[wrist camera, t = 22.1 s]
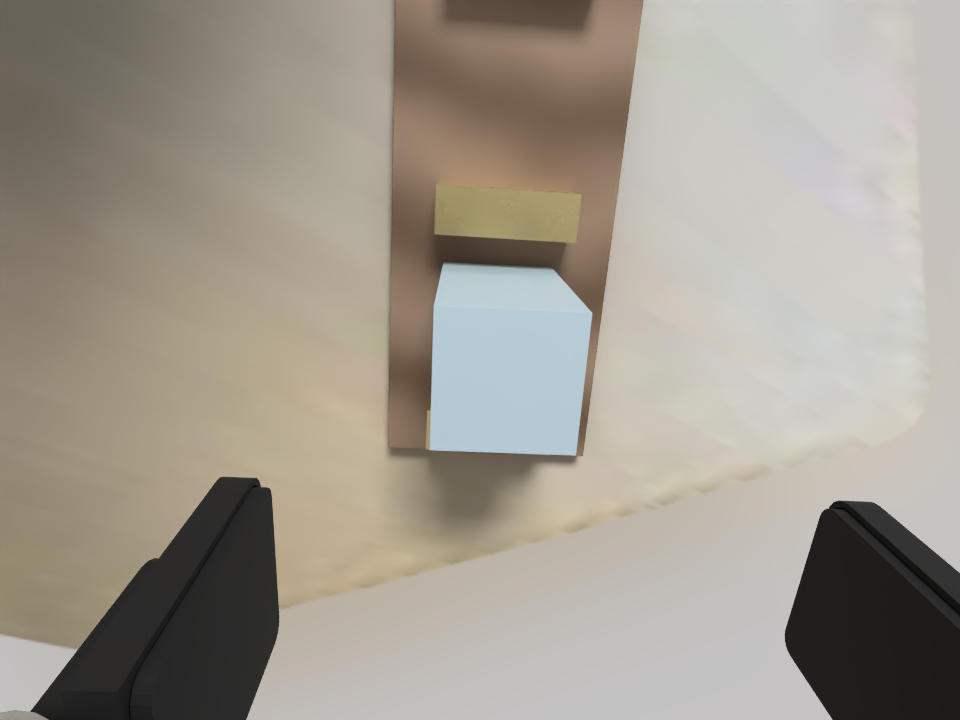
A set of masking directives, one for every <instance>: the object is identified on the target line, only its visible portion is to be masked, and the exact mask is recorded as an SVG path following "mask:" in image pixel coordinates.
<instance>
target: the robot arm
mask: <svg viewBox="0 0 960 720" xmlns="http://www.w3.org/2000/svg"><path fill="white" fill-rule="evenodd" d="M278 627H279V606H278V590H277V574H276V558H275V541H274V525H273V509H272V495H271V490H270V489H269V488H265V487H261V486H260V482H259V480H258V479H257V478H238V477H220V478H219V479H218V480H217V481H216V483H215V484H214V485H213V487H212V488H211V489H210V491H209V492H208V493H207V495H206V496H205V497H204V499H203V500H202V501H201V503H200V504H199V505H198V507H197V508H196V509H195V511H194V512H193V513H192V515H191V516H190V517H189V519H188V520H187V521H186V523H185V524H184V526H183V527H182V528H181V530H180V531H179V532H178V534H177V535H176V536H175V538H174V539H173V540H172V542H171V543H170V544H169V546H168V547H167V548H166V550H165V551H164V552H163V554H162V555H161V556H160V558H159V559H158V558H154V559H152V560H150V561H148V562H147V563H146V564H145V565H144V566H143V567H142V568H141V569H140V570H139V571H138V573H137V574H136V575H135V577H134V578H133V579H132V580H131V582H130V583H129V584H128V586H127V587H126V588H125V590H124V591H123V592H122V593H121V595H120V596H119V597H118V599H117V600H116V601H115V602H114V604H113V605H112V606H111V608H110V609H109V610H108V612H107V613H106V614H105V615H104V617H103V618H102V619H101V621H100V622H99V623H98V625H97V626H96V627H95V628H94V630H93V631H92V632H91V634H90V635H89V636H88V638H87V639H86V640H85V641H84V643H83V644H82V645H81V647H80V648H79V649H78V650H77V652H76V653H75V654H74V656H73V657H72V658H71V660H70V661H69V662H68V663H67V665H66V666H65V667H64V669H63V670H62V671H61V673H60V674H59V675H58V676H57V678H56V679H55V680H54V682H53V683H52V684H51V685H50V687H49V688H48V690H47V691H46V692H45V693H44V695H43V696H42V697H41V698H40V700H39V701H38V702H37V704H36V705H35V706H34V708H33V709H32V710H31V712H25V711H8V712H2V713H0V720H246V718H247V716H248V713H249V711H250V708H251V705H252V703H253V700H254V697H255V695H256V692H257V689H258V687H259V684H260V682H261V679H262V676H263V674H264V670H265V668H266V666H267V663H268V660H269V658H270V655H271V652H272V650H273V647H274V644H275V641H276V638H277V634H278ZM785 642H786V647H787V650H788V652H789V654H790V656H791V657H792V659H793V660H794V662H795V663H796V665H797V666H798V668H799V670H800V671H801V672H802V674H803V676H804V677H805V679H806V680H807V682H808V683H809V685H810V686H811V688H812V689H813V691H814V692H815V694H816V695H817V697H818V698H819V700H820V701H821V703H822V704H823V706H824V707H825V709H826V710H827V712H828V713H829V715H830V716H831V718H832V719H833V720H960V573H959V572H958V571H956V570H955V569H954V568H953V567H952V566H951V565H949V564H948V563H947V562H946V561H945V560H943V559H942V558H941V557H940V556H939V555H937V554H936V553H935V552H934V551H932V550H931V549H930V548H929V547H928V546H927V545H925V544H924V543H923V542H922V541H920V540H919V539H918V538H917V537H916V536H915V535H913V534H912V533H911V532H910V531H909V530H907V529H906V528H905V527H904V526H903V525H901V524H900V523H899V522H898V521H897V520H896V519H894V518H893V517H892V516H891V515H889V514H888V513H887V512H886V511H885V510H884V509H882V508H881V507H880V506H878V505H877V504H875V503H872V502H855V501H836V502H834V503H833V504H832V505H831V506H830V507H829V509H826V510H824V511H823V512H822V514H821V516H820V518H819V521H818V525H817V528H816V531H815V534H814V538H813V541H812V544H811V548H810V551H809V554H808V558H807V561H806V564H805V568H804V571H803V574H802V577H801V581H800V584H799V587H798V590H797V594H796V597H795V600H794V604H793V608H792V610H791V614H790V617H789V620H788V624H787V627H786V630H785Z"/></svg>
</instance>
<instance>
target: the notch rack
mask: <svg viewBox="0 0 960 720" xmlns="http://www.w3.org/2000/svg"><path fill="white" fill-rule="evenodd" d="M642 7H643V0H396V9H395V68H394V128H393V187H392V246H391V306H390V365H389V425H388V447H394V448H416V449H428V450H430V420H431V385H432V350H433V314H434V303H435V298H436V294H437V289H438V285H439V280H440V276H441V271H442V267H443V262H454V263H474V264H495V265H515V266H536V267H552V268H553V269H554V271H555V272H556V273H557V274H558V275H559V276H560V277H561V278H562V280H563V281H564V282H565V283H566V284H567V285H568V286H569V287H570V289H571V290H572V291H573V292H574V293H575V294H576V295H577V296H578V297H579V299H580V300H581V301H582V302H583V303H584V304H585V305H586V306H587V308H588V309H589V310H590V311H591V312H592V321H591V330H590V339H589V347H588V356H587V365H586V373H585V382H584V390H583V399H582V408H581V416H580V425H579V433H578V442H577V451H576V455H568V456H583V450H584V442H585V435H586V427H587V420H588V412H589V405H590V397H591V390H592V382H593V375H594V367H595V360H596V352H597V345H598V337H599V330H600V322H601V315H602V307H603V300H604V292H605V285H606V277H607V270H608V262H609V255H610V247H611V240H612V232H613V224H614V217H615V209H616V202H617V194H618V187H619V179H620V172H621V164H622V157H623V149H624V142H625V134H626V127H627V119H628V112H629V104H630V97H631V89H632V82H633V74H634V67H635V59H636V52H637V44H638V37H639V29H640V22H641V14H642ZM515 454H521V453H515ZM537 455H549V454H537Z"/></svg>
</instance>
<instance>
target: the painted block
mask: <svg viewBox="0 0 960 720" xmlns="http://www.w3.org/2000/svg"><path fill="white" fill-rule="evenodd" d="M591 321H592V312H591V311H590V310H589V309H588V308H587V306H586V305H585V304H584V303H583V302H582V301H581V300H580V299H579V297H578V296H577V295H576V294H575V293H574V292H573V291H572V290H571V289H570V287H569V286H568V285H567V284H566V283H565V282H564V281H563V280H562V278H561V277H560V276H559V275H558V274H557V273H556V272H555V271H554V269H553V268H552V267H536V266H515V265H495V264H474V263H454V262H443V267H442V271H441V276H440V280H439V285H438V289H437V294H436V298H435V303H434V314H433V350H432V385H431V420H430V450H437V451H465V452H493V453H521V454H549V455H576V451H577V442H578V433H579V425H580V416H581V408H582V399H583V390H584V382H585V373H586V365H587V356H588V347H589V339H590V330H591Z"/></svg>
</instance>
